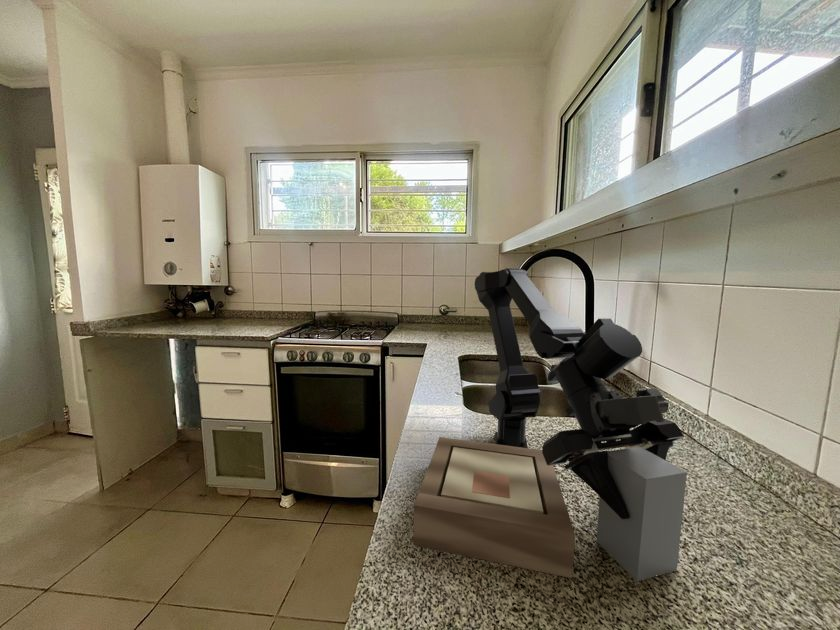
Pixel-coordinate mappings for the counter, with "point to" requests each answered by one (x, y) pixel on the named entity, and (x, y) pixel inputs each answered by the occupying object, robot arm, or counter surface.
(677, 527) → the grey rectangular block
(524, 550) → the frame
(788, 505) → the counter surface
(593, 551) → the counter surface
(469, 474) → the trapdoor plate
